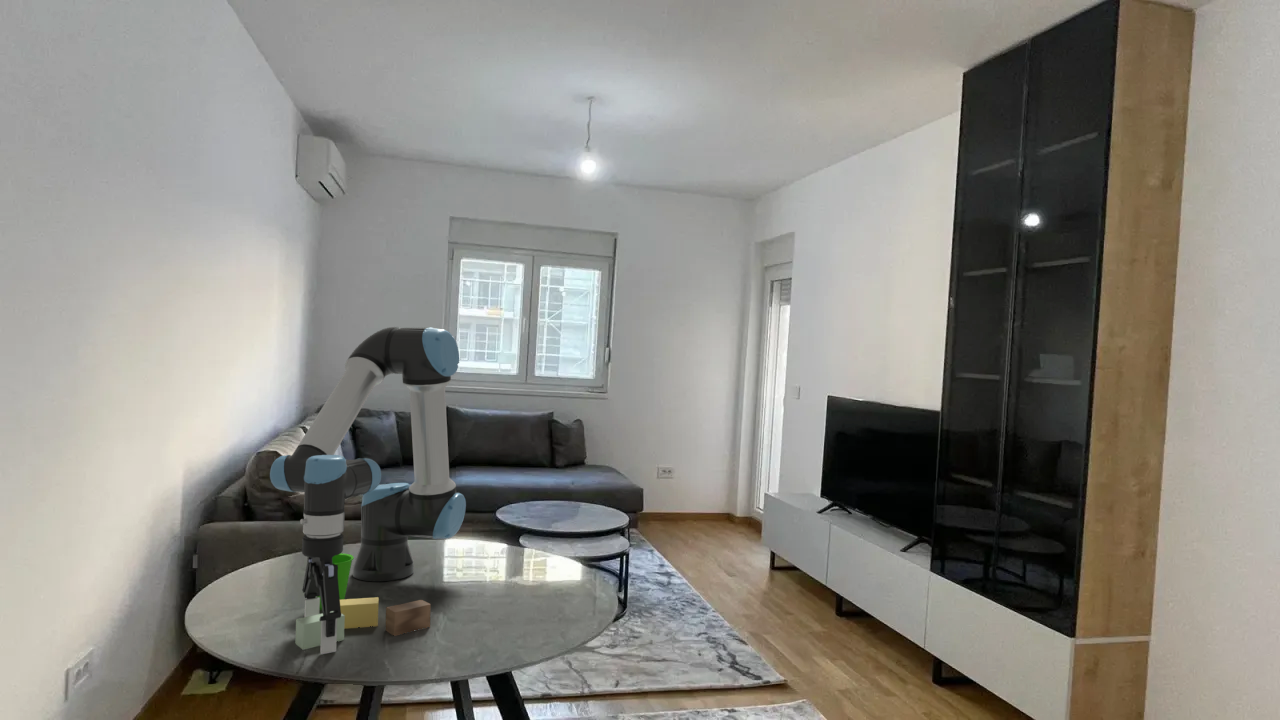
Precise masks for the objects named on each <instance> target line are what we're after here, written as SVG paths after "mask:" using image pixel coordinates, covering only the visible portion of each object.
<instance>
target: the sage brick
mask: <svg viewBox="0 0 1280 720" xmlns="http://www.w3.org/2000/svg"><path fill="white" fill-rule="evenodd" d="M331 612H333V611H331ZM321 616H323V612H322V613H319V614H317V615H313V616H308V617H300V618H296V619H295V638H294V639H295V641H294V642H295V645H296V646H297V647H298V648H300V650H301V649H302V650H303V651H304V650H308V649H313V648H317V647H320V645H321V621H320V620H319V619H320V617H321ZM344 623H345V615H343V614H341V617H340V618H337V640H336V643H337V641H338V642H340V641H344V640H345V629H344Z"/></svg>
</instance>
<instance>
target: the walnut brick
mask: <svg viewBox="0 0 1280 720" xmlns="http://www.w3.org/2000/svg"><path fill="white" fill-rule="evenodd" d="M431 605H432V604H431V603H429V602H427V601H425V600H423V599H418V600H414V601H409V602H405V603H399V604H395V605H390V606H387V607H385V631H386V632H387V633H388V634H390V635H392V636H393V635H394V636H393V637H396V636H400V634H401V635H404V634H403V633H405V634H408V633H407V632H409V633H412V632H411V631H413V632H415V631H414V630H417V631H419V630H418V629H421V630H423V629H422V628H425V629H428V628H427V627H429V628H431V610H432V609H431Z"/></svg>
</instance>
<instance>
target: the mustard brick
mask: <svg viewBox="0 0 1280 720" xmlns="http://www.w3.org/2000/svg"><path fill="white" fill-rule="evenodd" d="M379 598H380V597H378V596H377V597H362V598H347V599H346V598H345V599H343V600H340V609H341V614H343V615H345V623H344V630H345V629H359V628H358V627H360V628H370V626H371V627H372V626H373V627H378V626H379V625H378V624H379V605H380V604H379V601H380V599H379Z"/></svg>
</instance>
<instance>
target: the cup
mask: <svg viewBox="0 0 1280 720" xmlns="http://www.w3.org/2000/svg"><path fill="white" fill-rule="evenodd" d="M354 558H355V557H354V555H352V554H349V553H343V552H342V553H340V554H339V555H335V556H333V557H332V562H333V564H335V565H337V566H338V586H339V597H340V600H343V599H346V593H347V589H348V588H347V587H348V583H349V579H350V573H351V568H352V562H353V560H354ZM330 578H331V577H330ZM317 597H319V598H320V607H319V610H320V611H322V605H321V597H320V596H317ZM317 597H316V598H317Z"/></svg>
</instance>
